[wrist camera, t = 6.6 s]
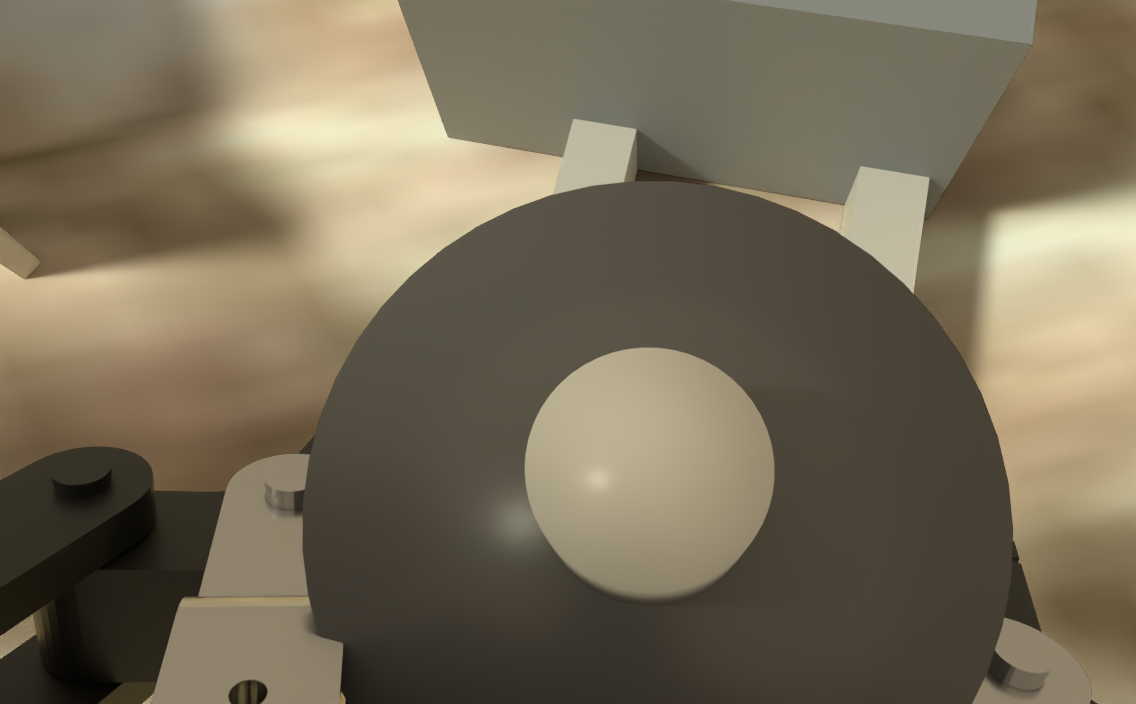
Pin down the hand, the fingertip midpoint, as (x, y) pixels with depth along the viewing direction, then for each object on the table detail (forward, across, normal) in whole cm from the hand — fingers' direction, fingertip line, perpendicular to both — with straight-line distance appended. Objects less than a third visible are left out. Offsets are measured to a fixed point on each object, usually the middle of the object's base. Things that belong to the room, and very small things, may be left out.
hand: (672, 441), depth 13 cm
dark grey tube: (+2, 0, +4) cm, 5 cm away
